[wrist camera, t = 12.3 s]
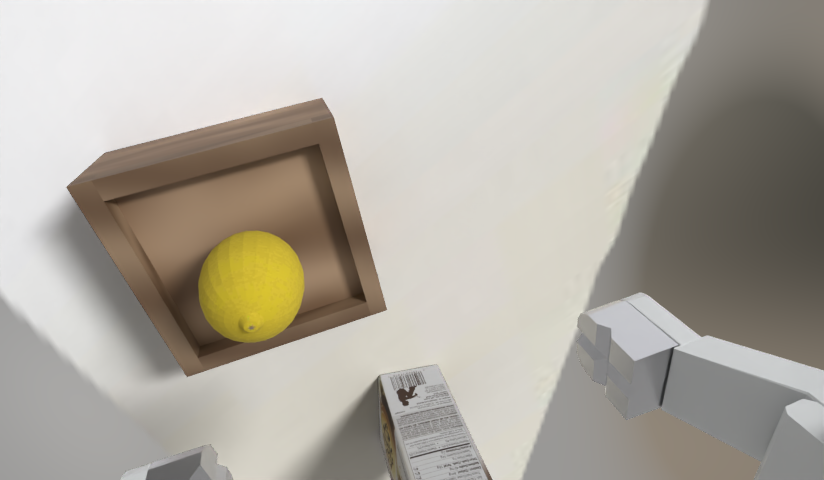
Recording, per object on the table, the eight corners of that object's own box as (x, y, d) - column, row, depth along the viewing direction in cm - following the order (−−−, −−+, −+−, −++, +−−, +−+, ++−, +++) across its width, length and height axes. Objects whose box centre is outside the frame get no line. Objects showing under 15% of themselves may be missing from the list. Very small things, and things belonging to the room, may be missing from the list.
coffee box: (435, 425, 48) (502, 590, 35) (378, 438, 47) (423, 617, 33) (439, 361, 44) (516, 521, 31) (376, 373, 43) (427, 548, 29)
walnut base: (104, 153, 28) (66, 187, 23) (322, 97, 30) (333, 117, 25) (199, 320, 35) (187, 377, 30) (369, 266, 37) (386, 309, 32)
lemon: (223, 295, 29) (208, 384, 22) (195, 219, 26) (169, 294, 19) (308, 276, 30) (319, 355, 23) (289, 202, 27) (296, 266, 21)
